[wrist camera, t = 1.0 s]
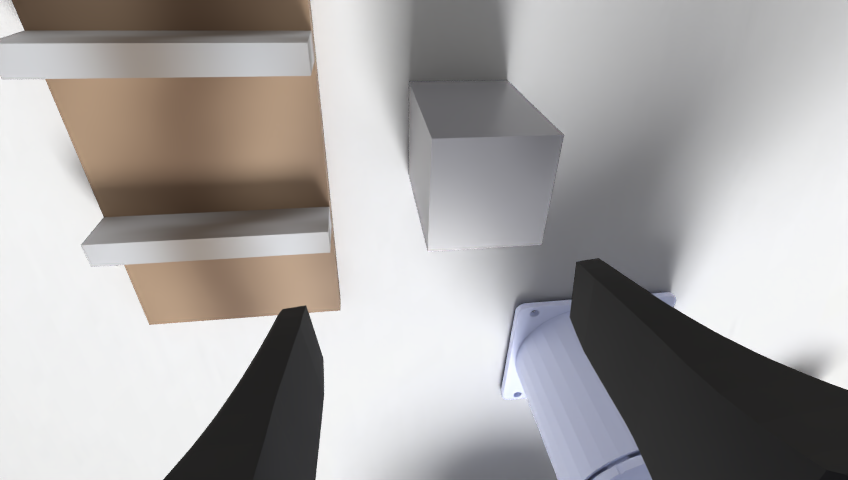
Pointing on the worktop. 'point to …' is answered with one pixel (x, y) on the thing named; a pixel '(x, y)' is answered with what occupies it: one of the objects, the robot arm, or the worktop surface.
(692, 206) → the worktop surface
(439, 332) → the worktop surface
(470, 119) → the grey rectangular block
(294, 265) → the end holder
